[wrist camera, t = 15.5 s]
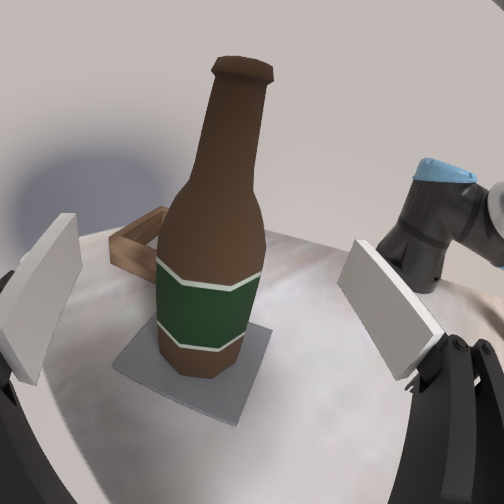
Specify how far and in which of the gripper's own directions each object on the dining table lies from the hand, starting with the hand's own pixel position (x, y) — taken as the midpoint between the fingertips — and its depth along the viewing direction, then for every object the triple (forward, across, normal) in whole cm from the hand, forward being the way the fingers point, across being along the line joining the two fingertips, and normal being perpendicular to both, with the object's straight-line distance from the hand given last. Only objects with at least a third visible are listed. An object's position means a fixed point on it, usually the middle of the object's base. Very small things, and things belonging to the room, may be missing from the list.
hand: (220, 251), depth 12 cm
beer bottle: (+7, 0, -15) cm, 17 cm away
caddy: (+23, -3, -16) cm, 28 cm away
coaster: (+7, 0, -16) cm, 17 cm away
